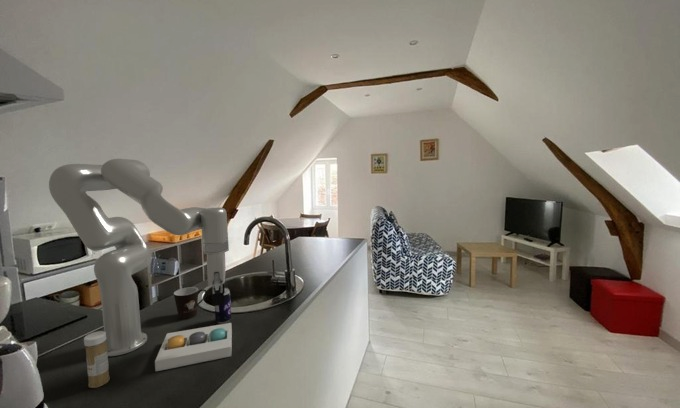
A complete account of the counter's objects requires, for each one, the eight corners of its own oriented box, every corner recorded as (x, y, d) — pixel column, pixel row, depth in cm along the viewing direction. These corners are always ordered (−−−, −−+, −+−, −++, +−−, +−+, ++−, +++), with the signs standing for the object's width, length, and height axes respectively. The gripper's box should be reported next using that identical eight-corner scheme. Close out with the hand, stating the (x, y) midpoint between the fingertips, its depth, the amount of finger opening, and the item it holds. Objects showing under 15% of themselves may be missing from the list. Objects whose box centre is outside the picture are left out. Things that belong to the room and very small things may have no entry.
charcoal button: (188, 348, 92) (188, 340, 91) (190, 340, 96) (190, 333, 95) (204, 345, 93) (204, 337, 93) (205, 337, 97) (205, 330, 97)
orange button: (166, 352, 90) (166, 344, 89) (169, 344, 94) (169, 336, 93) (183, 349, 91) (182, 341, 91) (185, 341, 95) (184, 334, 95)
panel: (155, 371, 84) (154, 361, 83) (167, 342, 99) (167, 333, 98) (231, 356, 90) (230, 346, 90) (231, 330, 105) (231, 322, 105)
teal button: (210, 344, 93) (209, 336, 93) (211, 337, 98) (210, 329, 97) (225, 341, 95) (224, 333, 95) (225, 334, 99) (225, 327, 99)
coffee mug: (174, 322, 112) (172, 297, 111) (176, 313, 120) (174, 289, 119) (208, 316, 117) (206, 291, 116) (208, 307, 124) (206, 284, 124)
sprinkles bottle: (85, 385, 79) (80, 336, 77) (106, 375, 83) (101, 328, 81) (92, 391, 76) (87, 341, 75) (113, 380, 80) (109, 333, 79)
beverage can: (226, 325, 109) (224, 293, 108) (212, 323, 111) (210, 292, 109) (234, 318, 115) (232, 287, 114) (221, 316, 116) (219, 287, 115)
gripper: (205, 242, 101) (208, 291, 103) (200, 254, 85) (204, 312, 87) (228, 240, 104) (231, 288, 105) (228, 251, 88) (231, 307, 89)
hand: (219, 299), depth 96 cm, fingers open, 9 cm apart
